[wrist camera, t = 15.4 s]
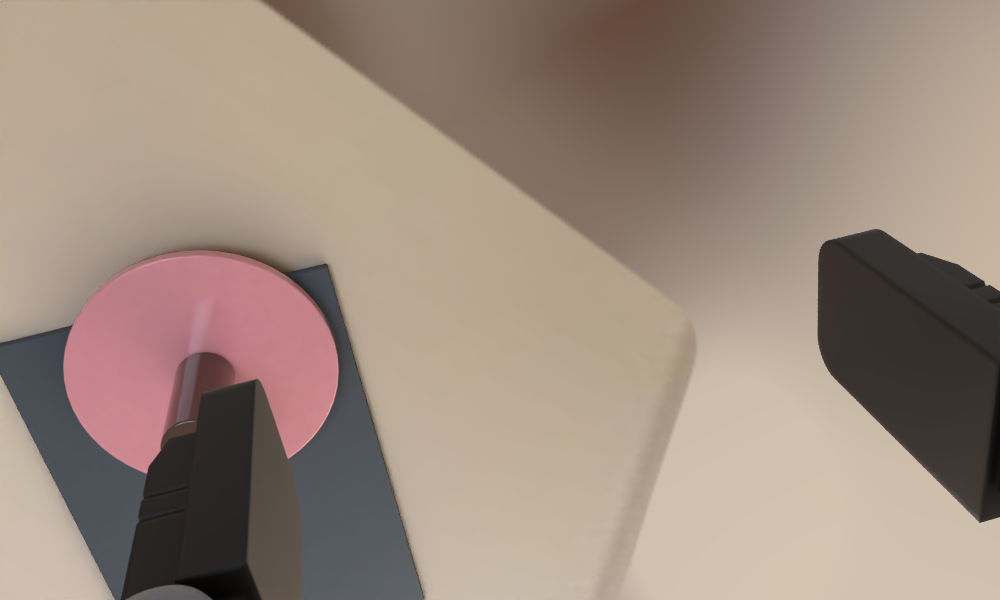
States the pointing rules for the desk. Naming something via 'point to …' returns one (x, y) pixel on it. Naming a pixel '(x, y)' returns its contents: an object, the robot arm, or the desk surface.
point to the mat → (316, 467)
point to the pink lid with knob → (196, 351)
